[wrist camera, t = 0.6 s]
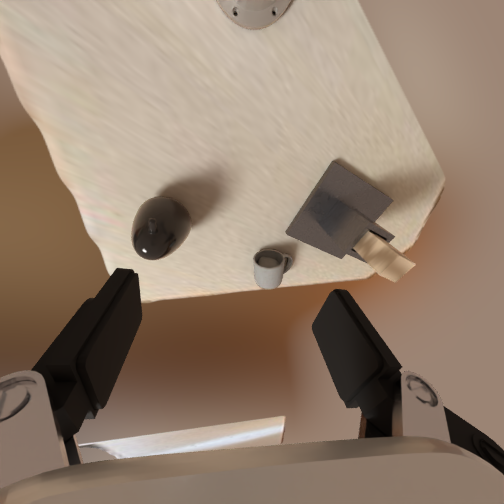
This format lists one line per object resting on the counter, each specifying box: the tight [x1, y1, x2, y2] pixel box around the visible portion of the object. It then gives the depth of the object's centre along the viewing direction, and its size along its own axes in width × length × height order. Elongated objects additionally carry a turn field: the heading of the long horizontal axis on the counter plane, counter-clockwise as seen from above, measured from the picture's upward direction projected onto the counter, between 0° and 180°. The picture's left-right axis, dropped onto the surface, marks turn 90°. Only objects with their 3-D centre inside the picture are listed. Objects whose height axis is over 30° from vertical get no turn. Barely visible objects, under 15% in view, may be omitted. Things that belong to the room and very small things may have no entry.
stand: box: [286, 161, 395, 263], centre depth 43 cm, size 18×18×14 cm
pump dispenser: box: [131, 197, 192, 260], centre depth 38 cm, size 10×10×15 cm
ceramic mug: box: [253, 249, 293, 290], centre depth 51 cm, size 11×8×8 cm
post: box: [353, 229, 416, 282], centre depth 39 cm, size 4×4×19 cm
